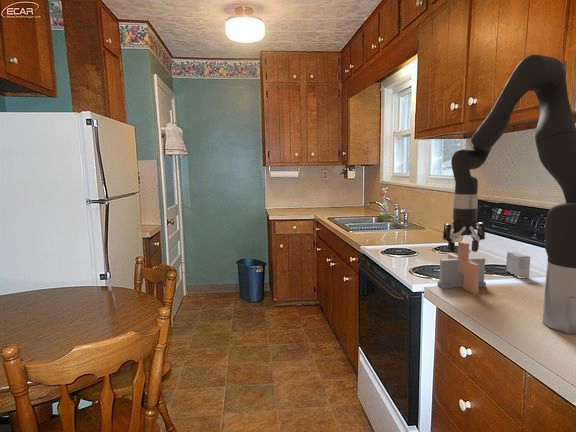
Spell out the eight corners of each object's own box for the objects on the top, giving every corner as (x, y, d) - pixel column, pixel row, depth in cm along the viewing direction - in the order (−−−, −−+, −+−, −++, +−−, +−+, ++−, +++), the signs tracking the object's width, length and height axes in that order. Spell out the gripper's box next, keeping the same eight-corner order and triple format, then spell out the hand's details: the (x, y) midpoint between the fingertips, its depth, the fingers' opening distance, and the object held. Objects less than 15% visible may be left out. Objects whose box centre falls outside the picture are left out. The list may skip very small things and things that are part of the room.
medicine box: (529, 278, 134) (531, 256, 133) (517, 278, 134) (519, 256, 133) (516, 272, 142) (518, 251, 141) (505, 272, 142) (506, 251, 141)
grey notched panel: (478, 282, 130) (480, 256, 129) (485, 286, 126) (487, 259, 125) (437, 285, 129) (438, 258, 127) (443, 288, 125) (444, 261, 123)
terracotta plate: (478, 293, 120) (480, 247, 118) (473, 293, 120) (476, 247, 117) (450, 278, 135) (452, 238, 133) (446, 279, 135) (448, 238, 133)
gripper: (452, 208, 119) (449, 255, 121) (491, 207, 121) (488, 253, 123) (440, 206, 127) (438, 250, 129) (477, 205, 128) (475, 248, 130)
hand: (463, 251), depth 126 cm, fingers open, 8 cm apart
